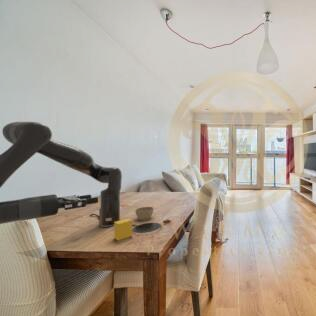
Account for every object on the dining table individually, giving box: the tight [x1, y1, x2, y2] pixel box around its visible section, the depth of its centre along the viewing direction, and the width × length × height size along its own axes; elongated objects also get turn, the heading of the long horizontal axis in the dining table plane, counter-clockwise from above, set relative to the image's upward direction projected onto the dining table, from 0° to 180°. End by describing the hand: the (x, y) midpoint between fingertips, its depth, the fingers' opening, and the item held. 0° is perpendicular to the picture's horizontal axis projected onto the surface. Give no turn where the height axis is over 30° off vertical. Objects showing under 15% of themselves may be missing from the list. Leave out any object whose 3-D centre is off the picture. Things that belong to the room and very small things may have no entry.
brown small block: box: [162, 218, 172, 224], centre depth 106 cm, size 3×3×2 cm
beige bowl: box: [135, 206, 154, 221], centre depth 112 cm, size 10×10×7 cm
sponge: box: [113, 218, 133, 242], centre depth 86 cm, size 4×6×9 cm
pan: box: [132, 222, 162, 234], centre depth 99 cm, size 21×14×2 cm
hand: (94, 198), depth 77 cm, fingers open, 8 cm apart
